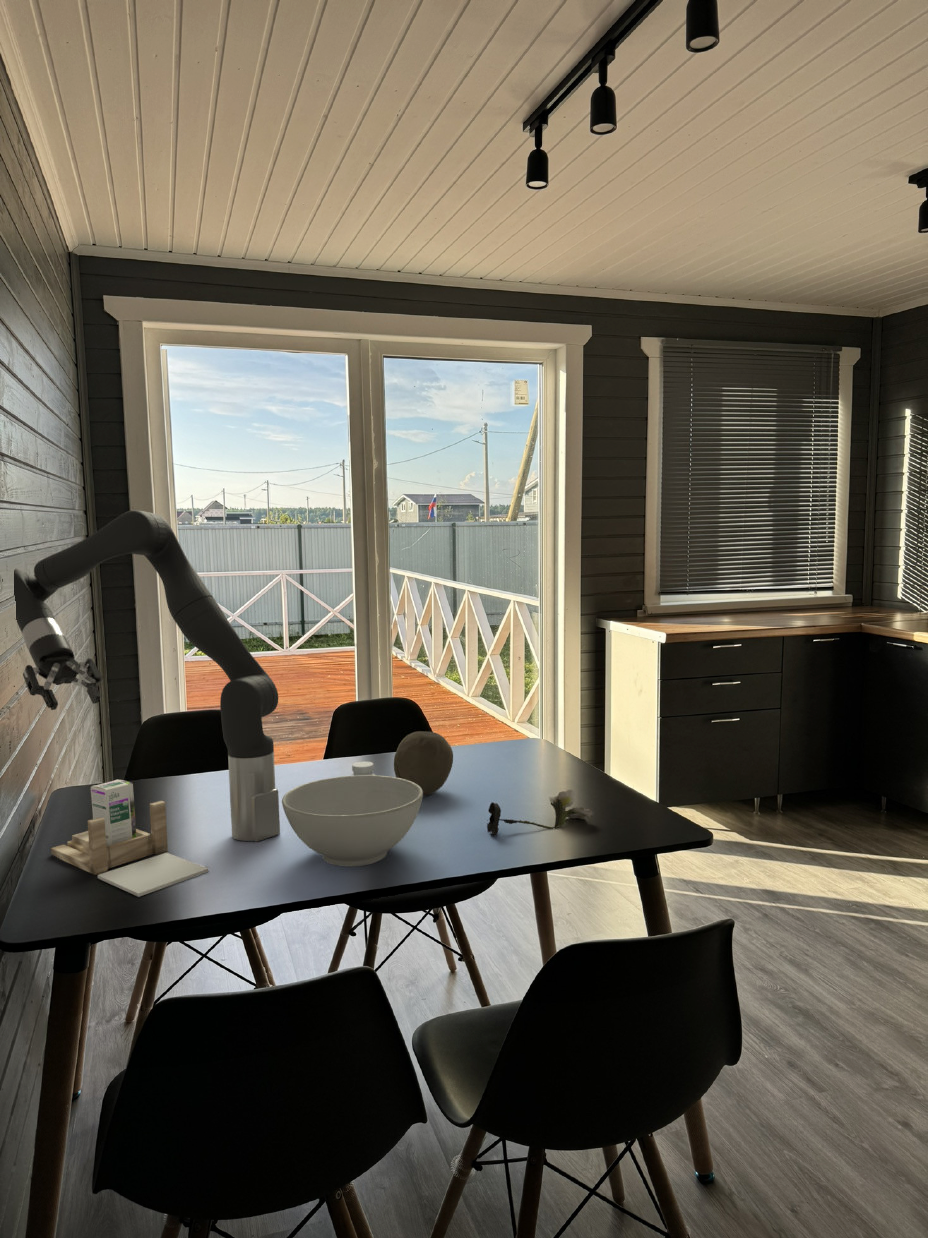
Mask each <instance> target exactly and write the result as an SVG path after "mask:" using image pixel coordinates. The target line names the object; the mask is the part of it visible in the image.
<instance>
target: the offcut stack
mask: <svg viewBox="0 0 928 1238" xmlns="http://www.w3.org/2000/svg"><path fill="white" fill-rule="evenodd" d="M86 838H89V835H88V830H86V831H83V832H79V833H76V834H73V835H71V840H69V841H67V844H66V845H67V846H69V847H71V848H73V849H76V850H78V851H80V852H83V839H86Z"/></svg>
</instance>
